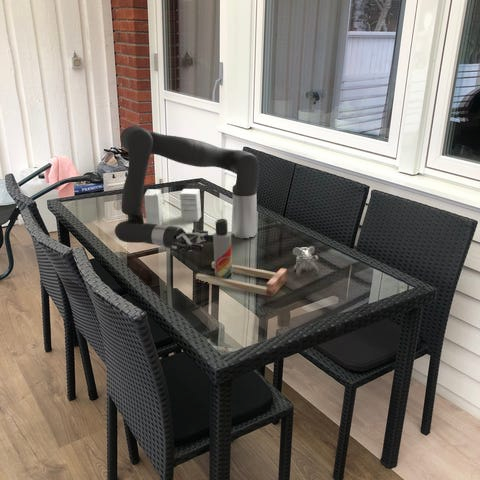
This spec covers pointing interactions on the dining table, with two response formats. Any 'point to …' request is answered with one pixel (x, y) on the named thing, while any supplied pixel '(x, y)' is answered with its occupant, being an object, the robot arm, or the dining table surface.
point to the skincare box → (153, 206)
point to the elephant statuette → (305, 259)
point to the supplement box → (190, 205)
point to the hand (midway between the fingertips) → (209, 243)
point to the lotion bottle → (222, 250)
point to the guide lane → (269, 290)
